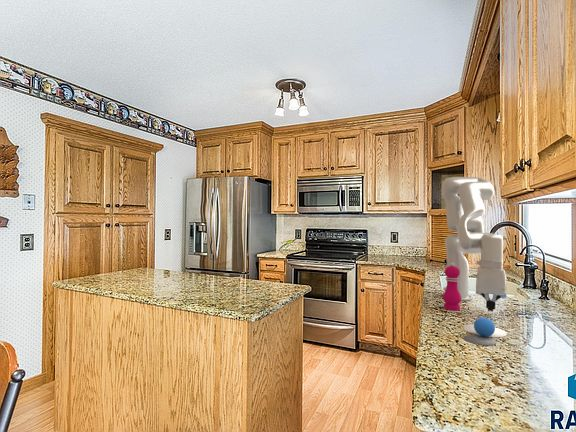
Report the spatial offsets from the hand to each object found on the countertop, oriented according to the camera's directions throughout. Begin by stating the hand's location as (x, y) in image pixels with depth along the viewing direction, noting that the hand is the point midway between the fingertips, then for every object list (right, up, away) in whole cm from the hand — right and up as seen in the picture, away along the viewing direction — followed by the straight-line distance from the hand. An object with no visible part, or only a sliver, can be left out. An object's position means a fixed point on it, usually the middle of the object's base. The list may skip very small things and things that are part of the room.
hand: (490, 310), depth 132 cm
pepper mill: (-10, -2, +10) cm, 15 cm away
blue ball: (-17, +1, -24) cm, 29 cm away
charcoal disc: (-21, -2, -28) cm, 35 cm away
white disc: (-13, -2, -18) cm, 23 cm away
